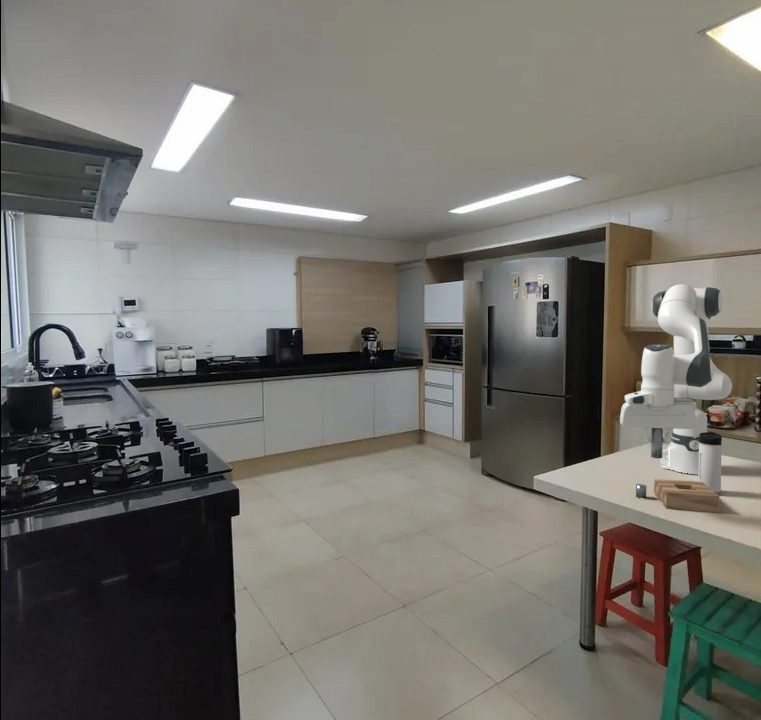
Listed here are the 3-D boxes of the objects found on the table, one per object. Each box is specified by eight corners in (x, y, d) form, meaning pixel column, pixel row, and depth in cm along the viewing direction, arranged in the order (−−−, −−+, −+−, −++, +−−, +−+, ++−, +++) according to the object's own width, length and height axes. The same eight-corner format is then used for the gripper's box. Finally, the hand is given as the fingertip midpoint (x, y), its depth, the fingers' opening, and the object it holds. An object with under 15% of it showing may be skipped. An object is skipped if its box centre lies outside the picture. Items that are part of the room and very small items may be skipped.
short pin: (634, 495, 157) (635, 483, 157) (645, 496, 156) (645, 484, 156) (637, 498, 154) (637, 486, 154) (647, 499, 153) (647, 487, 153)
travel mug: (721, 491, 159) (722, 432, 158) (719, 496, 154) (721, 436, 153) (699, 487, 163) (700, 430, 162) (696, 492, 158) (698, 433, 157)
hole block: (654, 493, 158) (654, 478, 158) (702, 496, 154) (702, 481, 154) (666, 508, 145) (666, 492, 145) (719, 512, 141) (719, 496, 141)
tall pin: (649, 455, 147) (650, 427, 146) (660, 456, 146) (661, 427, 146) (652, 458, 144) (652, 429, 144) (663, 458, 143) (663, 429, 143)
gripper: (692, 396, 144) (692, 441, 145) (619, 395, 150) (618, 438, 151) (700, 399, 138) (699, 446, 139) (623, 398, 144) (622, 443, 145)
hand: (656, 442), depth 145 cm, fingers closed on tall pin, 3 cm apart
